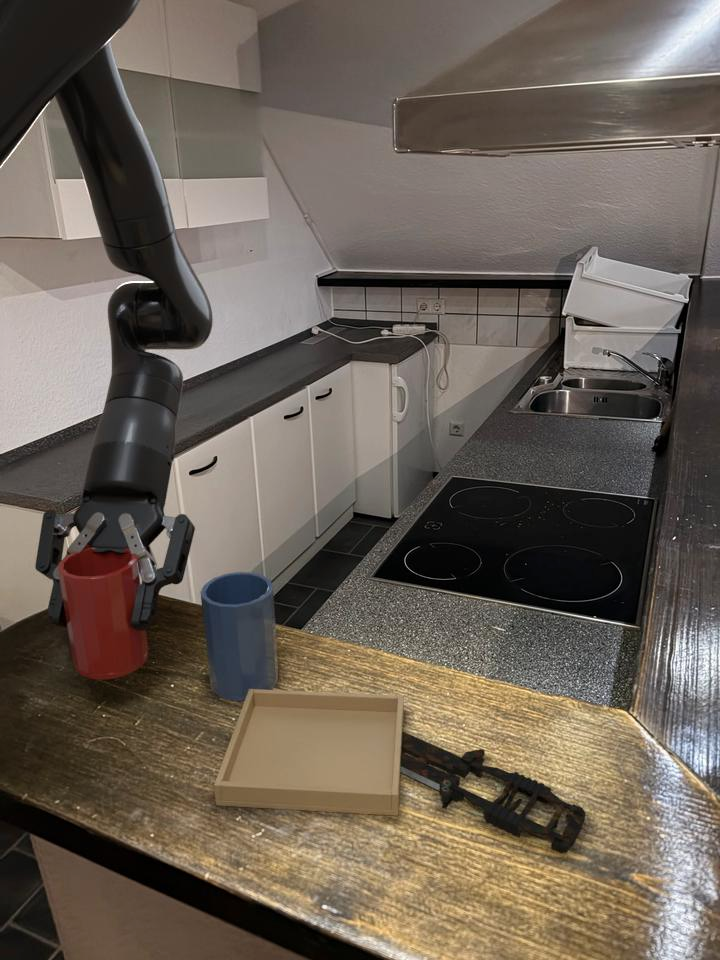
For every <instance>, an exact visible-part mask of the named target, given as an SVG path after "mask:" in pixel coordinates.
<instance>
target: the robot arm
mask: <svg viewBox="0 0 720 960" xmlns="http://www.w3.org/2000/svg"><path fill="white" fill-rule="evenodd" d="M140 1H141V0H0V169H1V168H2V166H3V165H4V164H5V162H6V161H7V160H8V159H9V158H10V156H11V155H12V153H13V152H14V151H15V150H16V148H17V147H18V145H20V143H21V141H22V140H23V139H24V138H25V136H26V135H27V134H28V132H29V131H30V129H31V128H32V127H33V125H34V123H35V122H36V121H37V119H38V118H39V116H40V115H41V114H42V113H43V111H44V110H45V109H46V107H47V106H48V105H49V104H50V102H52V100H53V99H54V98H55V100H56V103H57V105H58V108H59V111H60V114H61V115H62V118H63V121H64V124H65V126H66V129H67V132H68V135H69V138H70V140H71V143H72V146H73V149H74V152H75V154H76V158H77V162H78V164H79V167H80V171H81V173H82V177H83V180H84V184H85V187H86V190H87V194H88V197H89V200H90V204H91V207H92V212H93V214H94V218H95V220H96V224H97V227H98V231H99V234H100V237H101V240H102V243H103V247H104V250H105V253H106V256H107V258H108V261H109V262H110V263H111V264H112V265H113V266H114V267H115V268H116V269H118V270H119V271H122V272H125V273H129V274H132V275H136V276H139V277H144V278H146V279H148V280H150V281H128V282H124V283H122V284H120V285H119V286H118V287H117V288H116V289H115V290H114V291H113V293H112V294H111V296H110V298H109V300H108V304H107V321H108V322H107V323H108V329H109V330H108V331H109V336H110V347H111V348H110V349H111V351H110V352H111V374H110V380H109V384H108V388H107V392H106V397H105V402H104V407H103V410H102V413H101V415H100V418H99V419H98V420H99V421H98V424H97V425H96V426H97V427H96V430H95V434H94V440H93V444H92V448H91V453H90V455H89V461H88V466H87V470H86V475H85V479H84V483H83V488H82V499H81V502H80V505H79V506H78V507H77V508H76V510H75V512H73V513H72V512H70V513H57V512H56V511H55V510H54V509H48V510H46V511H45V512H43V515H42V521H41V527H40V534H39V539H38V540H39V541H38V545H37V546H38V547H37V553H36V559H35V565H34V566H35V567H34V568H35V570H36V571H37V572H39V573H41V575H43V576H44V577H46V578H48V579H49V580H51V581H52V587H51V592H50V596H49V601H48V606H47V610H46V611H47V616H48V617H49V618H51V619H50V621H51V624H53V625H54V626H56V627H59V628H68V627H67V621H66V615H65V609H64V603H63V597H62V591H61V585H60V579H59V573H58V566H59V563H60V562H61V561H62V560H63V559H64V558H65V557H66V556H67V555H69V554H71V553H73V552H79V554H80V553H81V551H83V550H85V549H87V548H88V547H95V548H96V549H94V550H93V551H92V552H94V553H100V554H107V553H110V552H113V553H116V554H119V555H120V554H125V553H126V551H125V550H123V548H125V549H129V550H130V552H131V554H137V561H138V570H139V577H140V580H141V583H140V584H138V587H137V592H136V597H135V603H134V608H133V614H132V619H131V626H132V627H133V628H134V629H136V630H138V631H145V630H146V631H147V628H148V625H152V624H153V622H154V620H155V618H156V612H157V607H158V601H159V595H160V591H161V590H162V588H164V587H165V586H169V585H172V584H173V585H179V584H181V583H182V582H183V579H184V577H185V573H186V568H187V564H188V560H189V556H190V551H191V549H192V548H191V547H192V543H193V539H194V535H195V531H196V527H195V525H194V523H193V522H192V520H191V519H190V518H189V517H188V516H187V515H186V514H185V513H180V514H178V515H176V516H167V515H165V506H166V501H167V495H168V489H169V484H170V477H171V473H172V467H173V462H174V461H175V455H176V450H175V449H176V442H177V423H178V418H179V417H178V416H179V411H180V405H181V399H182V395H183V394H182V393H183V388H184V375H183V371H182V370H181V368H180V366H178V365H177V364H176V363H175V362H174V361H173V360H171V359H169V358H167V357H165V356H163V355H160V354H157V353H153V352H150V351H147V350H152V351H153V350H157V351H158V350H174V351H175V350H181V351H182V350H183V351H186V350H195V349H198V348H200V347H202V346H203V345H204V344H205V343H206V342H207V340H208V339H209V337H210V335H211V333H212V329H213V324H214V323H213V321H214V319H213V318H214V317H213V310H212V305H211V302H210V300H209V297H208V294H207V292H206V290H205V288H204V287H203V285H202V282H201V281H200V278H199V277H198V275H197V274H196V272H195V270H194V269H193V266H192V265H191V263H190V261H189V259H188V257H187V255H186V253H185V251H184V249H183V246H182V244H181V243H180V240H179V238H178V233H177V230H176V226H175V222H174V217H173V213H172V209H171V205H170V199H169V195H168V191H167V188H166V184H165V180H164V177H163V174H162V171H161V167H160V165H159V163H158V160H157V158H156V156H155V153H154V150H153V148H152V146H151V144H150V142H149V140H148V138H147V135H146V133H145V131H144V130H143V126H142V125H141V123H140V121H139V119H138V117H137V114H136V112H135V110H134V108H133V106H132V103H131V101H130V99H129V96H128V94H127V91H126V89H125V86H124V83H123V81H122V78H121V75H120V72H119V69H118V66H117V63H116V59H115V55H114V52H113V47H112V43H111V39H112V38H113V37H114V36H115V35H116V34H118V32H119V31H120V30H121V29H122V28H123V27H124V26H125V25H126V23H127V22H128V21H129V20H130V19H131V17H132V15H134V13H135V11H136V9H137V7H138V5H139V3H140ZM75 527H76V530H77V532H78V535H77V536H76V537H75V539H74V540H73V542H72V543H71V544H70V545H69V546H68V547H67V549H66V554H65V556H64V557H63V552H64V548H65V547H64V546H65V539H66V538H68V537H69V536H70V535H71V531H72V529H73V528H75ZM165 530H166V531H165ZM164 531H165V532H166V537H168V539H169V542H168V545H167V550H166V552H165V553H166V554H165V558H164V560H163V566H162V567H159V568H158V563H157V559H156V557H155V555H154V552H153V550H152V546H151V544H152V543H153V542H155V540H156V539H157V538H158V537H159V536H160V535H161V534H162V533H163V532H164ZM79 554H78V555H79Z"/></svg>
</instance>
